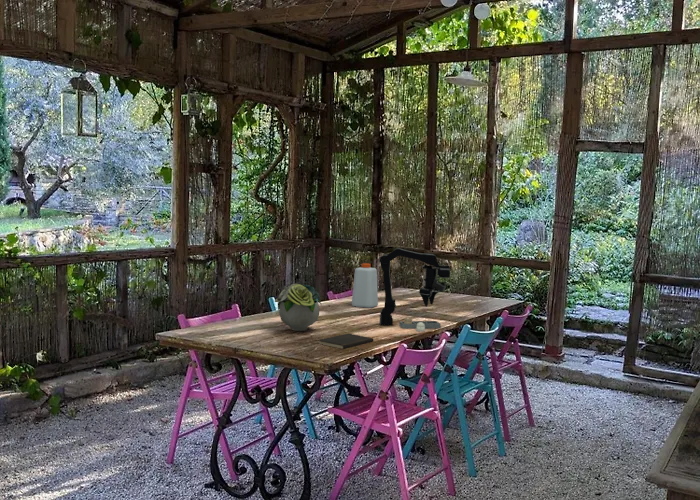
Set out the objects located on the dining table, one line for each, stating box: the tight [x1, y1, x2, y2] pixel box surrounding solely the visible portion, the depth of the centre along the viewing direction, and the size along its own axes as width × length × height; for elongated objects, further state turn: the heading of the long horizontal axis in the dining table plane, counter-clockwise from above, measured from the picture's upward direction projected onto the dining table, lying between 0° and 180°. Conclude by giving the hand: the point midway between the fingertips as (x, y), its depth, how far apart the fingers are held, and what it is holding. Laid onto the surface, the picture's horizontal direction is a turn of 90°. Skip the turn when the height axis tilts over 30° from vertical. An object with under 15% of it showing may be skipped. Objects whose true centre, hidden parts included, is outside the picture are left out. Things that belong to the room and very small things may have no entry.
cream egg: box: [415, 322, 426, 333], centre depth 340 cm, size 4×4×6 cm
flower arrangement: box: [274, 282, 322, 332], centre depth 338 cm, size 25×25×24 cm
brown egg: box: [403, 316, 413, 324], centre depth 349 cm, size 4×4×6 cm
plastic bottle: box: [351, 262, 379, 309], centre depth 422 cm, size 15×15×28 cm
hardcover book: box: [317, 332, 374, 350], centre depth 311 cm, size 16×23×2 cm
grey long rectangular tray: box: [398, 320, 441, 330], centre depth 351 cm, size 21×8×4 cm, turn 103°
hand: (429, 305), depth 352 cm, fingers open, 9 cm apart
